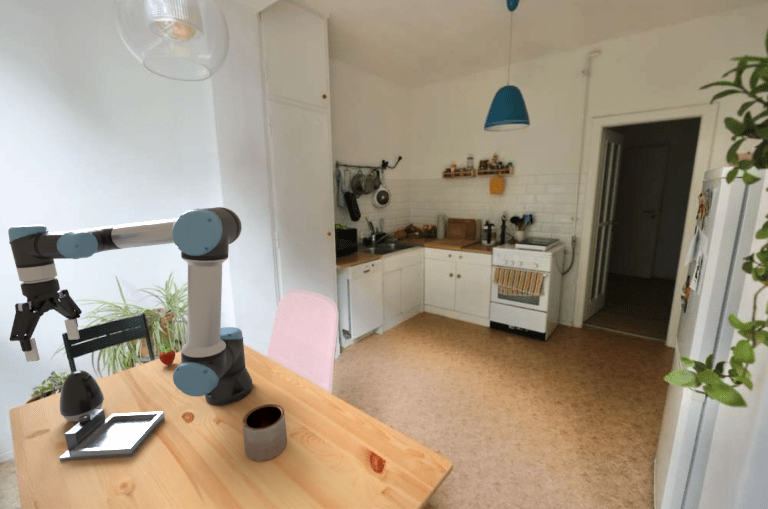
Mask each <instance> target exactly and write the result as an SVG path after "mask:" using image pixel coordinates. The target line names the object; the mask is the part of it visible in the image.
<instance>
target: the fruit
mask: <svg viewBox="0 0 768 509" xmlns="http://www.w3.org/2000/svg"><path fill="white" fill-rule="evenodd" d="M159 351H161V352H160V353H159V355H158V359H159V360H160V362H161V363H162V364H164V365H165V366H168V367H169V366H171V365H173V363H174V361H175V358H176V351H175V350H174V349H173V347H171V346H169V347H167V346H166V347H165V348H164V347H162V349H160V350H159Z"/></svg>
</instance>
